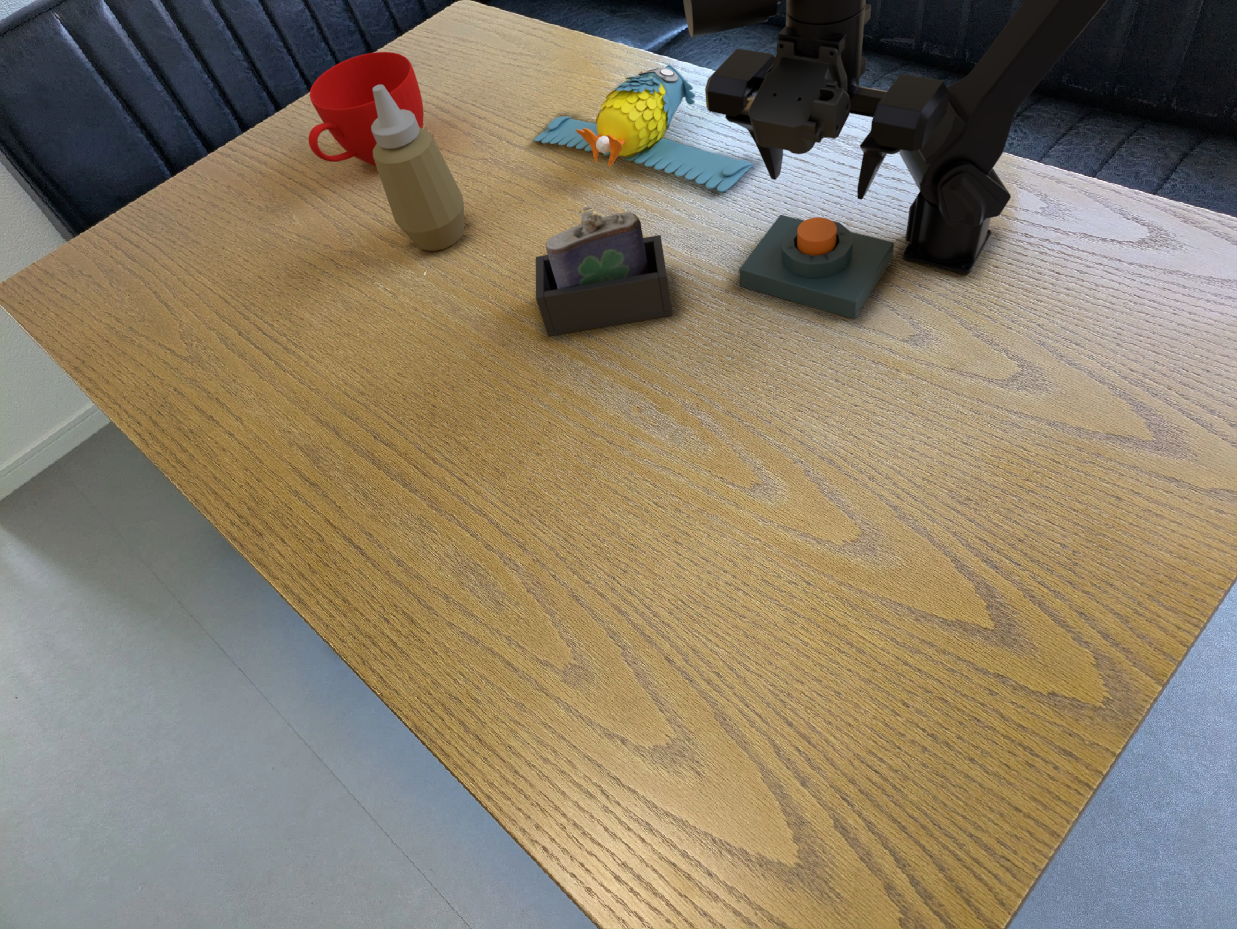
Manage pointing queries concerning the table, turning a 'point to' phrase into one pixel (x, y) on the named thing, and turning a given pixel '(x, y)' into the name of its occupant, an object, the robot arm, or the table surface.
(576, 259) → the flask
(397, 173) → the squeeze bottle
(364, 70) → the ceramic cup
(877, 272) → the panel
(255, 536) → the table surface
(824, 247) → the button
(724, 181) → the owl figurine
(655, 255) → the box
